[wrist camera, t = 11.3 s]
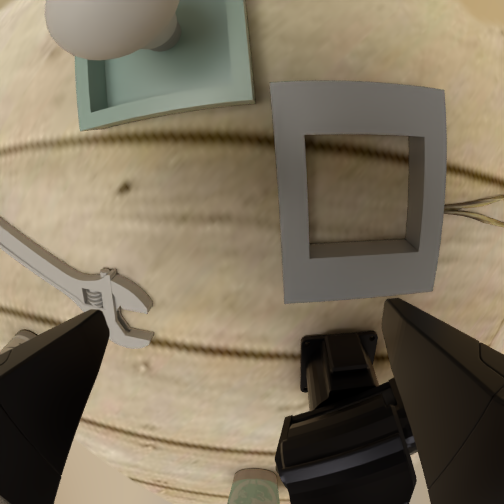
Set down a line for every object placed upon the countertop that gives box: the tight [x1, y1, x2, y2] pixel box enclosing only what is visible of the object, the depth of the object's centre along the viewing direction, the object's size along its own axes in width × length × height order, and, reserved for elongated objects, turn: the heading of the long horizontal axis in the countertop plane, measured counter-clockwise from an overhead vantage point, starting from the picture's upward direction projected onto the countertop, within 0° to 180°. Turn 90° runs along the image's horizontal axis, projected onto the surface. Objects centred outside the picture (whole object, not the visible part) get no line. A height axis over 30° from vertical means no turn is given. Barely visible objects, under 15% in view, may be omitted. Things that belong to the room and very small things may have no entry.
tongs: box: [444, 195, 504, 227], centre depth 20 cm, size 4×13×2 cm, turn 99°
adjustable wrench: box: [0, 217, 154, 349], centre depth 23 cm, size 25×6×2 cm, turn 57°
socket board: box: [270, 81, 447, 304], centre depth 19 cm, size 14×11×2 cm
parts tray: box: [75, 0, 255, 131], centre depth 15 cm, size 11×11×3 cm
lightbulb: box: [45, 0, 181, 60], centre depth 11 cm, size 6×6×11 cm
